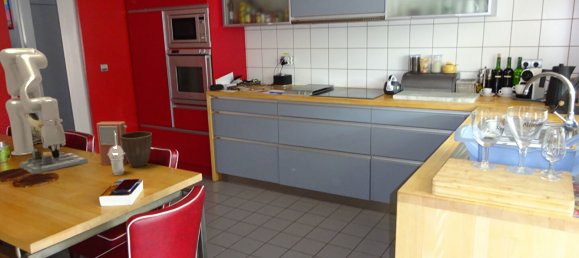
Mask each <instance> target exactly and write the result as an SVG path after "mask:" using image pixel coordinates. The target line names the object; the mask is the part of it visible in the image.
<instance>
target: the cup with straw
mask: <svg viewBox="0 0 579 258" xmlns="http://www.w3.org/2000/svg"><path fill="white" fill-rule="evenodd" d="M114 136H115V145H114V146H112V147H111V148H110V149H109V152H108V153H107V155H108V156H109V158H110V160H111V164H110V165H111V169H112V172H113V175H114V176H116V175H117V176H119V175H123V174H124V172H125V171H124V170H125V164H124V158H125V154H126V151H125V150H124V149H123V147H122V146H120V145H117V140H116V133H115V131H114Z"/></svg>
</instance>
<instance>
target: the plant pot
mask: <svg viewBox="0 0 579 258" xmlns="http://www.w3.org/2000/svg"><path fill="white" fill-rule="evenodd" d="M152 136H153V133H152V132H149V131H133V132H128V133H127V132H126V134H123V135H121V136H120V137H121V141H122V145H123V148H124V150H125V151H126V156H127V158H128V163H129V164H130V166H131V167H132V166H133V167H132V168H142V167H141V166H143V167H145V166H144V165H146V164H147V165H148V162H149V158H150V155H151V154H150V153H151V148H152ZM147 165H146V166H147Z"/></svg>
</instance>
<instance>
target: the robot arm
mask: <svg viewBox="0 0 579 258" xmlns="http://www.w3.org/2000/svg"><path fill="white" fill-rule="evenodd" d="M0 63H1V66H2V68H3V71H4V76H5V83H6V84H5V85H6V89H7V93H8V95H9V96H12V97H15V98H10V99H8V100H7V101H5V109H6V112H7V115H8V119H9V123H10V130H11V137H12V138H11V139H12V142H13V143H12V144H13V149H14V150H13V151H11V152H10V153H11V155H13V156H25V155H26V156H27V155H31V154H32V155H33V153H32V151H37V150H38V149H37V148H35V147H34V144H33V140H32V133H31V126H30V121H29V120H28V119H27V118H26V117H25V116H24V114H30V113H41V116H42V122H43V125H44V126H42V129H41V138H42V142H41V143H42V148H43V149H49V150H50V151H51V153H52V156H53V157H54V158H59V153H60V149H61V148H62V147H63V146H65V145H67V144H66V135H65V130H64V127H63V124H61V123H62V122H63V121H64V120H63V118H60V110H59V104H58V99H56V98H53V97H51V96H43V97H42V94H41V88H40V83H41V82H42V81H43V78H42V74H41V72H40V71H39V70H41V69H42V70H43V69H46V68H47V67H48V63H49V62H48V58H47V57H46V55H45V54H44V53H43V52H41V51H39V50H38V49H37V48H34V47H14V48H13V47H11V48H5V49H4V48H3V49H2V50H0ZM18 96H19V97H18ZM29 96H30V97H29Z"/></svg>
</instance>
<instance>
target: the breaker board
mask: <svg viewBox="0 0 579 258" xmlns="http://www.w3.org/2000/svg"><path fill="white" fill-rule="evenodd" d="M52 159H54V160H52ZM42 160H43V162H42ZM87 163H88V159H87V157H86V158H85V157H83V156H81V155H78V154H77V153H73V152H69V153H65V152H59V158H54V157H53V156H50V155H46V156H43V155H42V151H41V150H38V149H37V151H32V157H30V158H26V161H21V162H18V165H19V168H21V169H23V170H25V171H26V170H27V171H26V172H28V173H30V174H32V175H35V174H39V173H45V172H49V171H55V170H60V169H63V168H68V167H73V166H79V165H83V164H87Z"/></svg>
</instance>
